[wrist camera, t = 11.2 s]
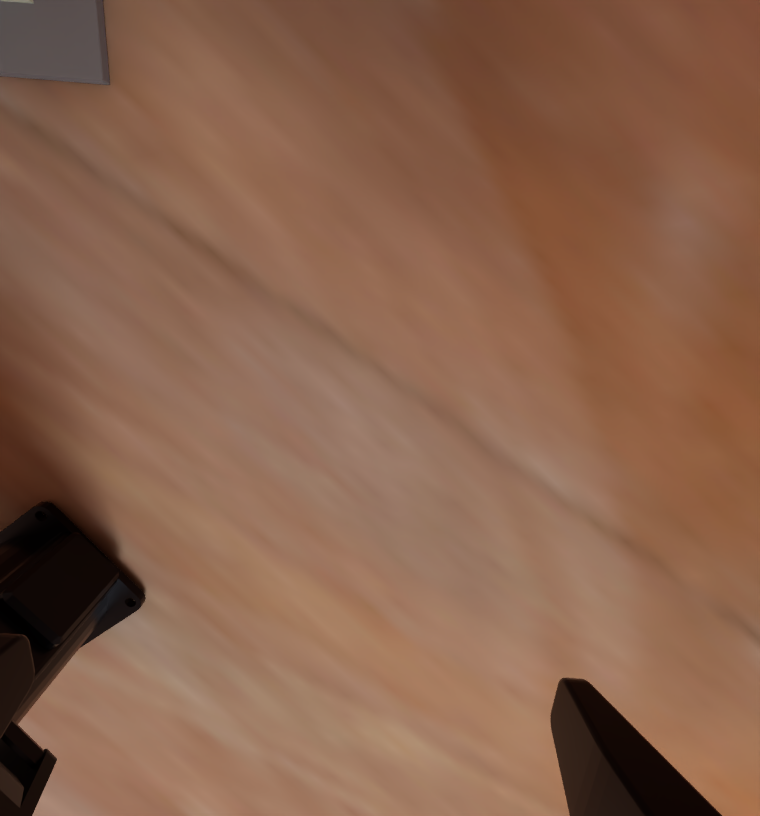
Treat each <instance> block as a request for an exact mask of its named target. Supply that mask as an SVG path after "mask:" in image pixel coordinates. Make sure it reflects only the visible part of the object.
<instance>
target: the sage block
mask: <svg viewBox="0 0 760 816" xmlns="http://www.w3.org/2000/svg"><path fill="white" fill-rule="evenodd" d="M0 1H7V2H20V3H32V4H34V2H33V0H0Z"/></svg>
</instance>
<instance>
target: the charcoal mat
mask: <svg viewBox="0 0 760 816" xmlns="http://www.w3.org/2000/svg"><path fill="white" fill-rule="evenodd" d="M33 2H34V4H32V3H20V2H7V1H0V76H7V77H19V78H31V79H43V80H55V81H68V82H80V83H92V84H104V85H110V79H109V68H108V56H107V44H106V32H105V20H104V9H103V0H33Z"/></svg>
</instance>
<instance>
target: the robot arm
mask: <svg viewBox="0 0 760 816" xmlns="http://www.w3.org/2000/svg"><path fill="white" fill-rule="evenodd" d="M42 512H44V513H45V514H46V515H47V516H45V515H44V514H43V513H42ZM131 598H132V599H134V600H135V601H133V600H132V599H131ZM144 602H145V594H144V593H143V592H142V591H141V590H140V589H139V588H138V587H137V586H136V585H135V584H134V583H133V582H132V581H131V580H130V579H129V578H128V577H127V576H126V575H125V574H124V573H123V572H122V571H121V570H120V569H119V568H118V567H117V566H116V565H115V564H114V563H113V562H112V561H111V560H110V559H109V558H108V557H107V556H106V555H105V554H104V553H103V552H102V551H101V550H100V549H99V548H98V547H97V546H96V545H95V544H94V543H93V542H92V541H91V540H89V539H88V538H87V537H86V536H85V535H84V534H83V533H82V532H81V531H80V530H79V529H78V528H77V527H76V526H75V525H74V524H73V523H72V522H71V521H70V520H69V519H68V518H67V517H66V516H65V515H64V514H63V513H62V512H61V511H60V510H59V509H58V508H57V507H56V506H55V505H53V504H52V503H50V502H41V503H39V504H37V505H36V506H34V507H33V508H32V509H30V510H29V511H28V512H26V513H25V514H24V515H22V516H21V517H20V518H18V519H17V520H16V521H14V522H13V523H12V524H11V525H9V526H8V527H7V528H5V529H4V530H3V531H1V532H0V816H32V814H33V812H34V810H35V808H36V805H37V803H38V801H39V799H40V797H41V794H42V792H43V790H44V788H45V785H46V783H47V781H48V779H49V776H50V774H51V772H52V770H53V767H54V765H55V763H56V761H57V758H56V757H55V756H54V755H53V754H52V753H51V752H50V751H49V750H48V749H44V750H43V749H42V748H41V747H40V746H39V745H38V744H37V743H36V742H35V741H34V740H33V739H32V738H31V737H30V736H29V735H28V734H27V733H26V732H25V731H24V730H23V729H22V728H21V727H20V726H19V725H18V723H19V722H20V721H21V720H22V718H23V717H24V716H25V715H26V713H27V712H28V711H29V710H30V708H31V707H32V706H33V705H34V704H35V702H36V701H37V700H38V699H39V697H40V696H41V695H42V694H43V692H44V691H45V690H46V689H47V687H48V686H49V685H50V684H51V682H52V681H53V680H54V679H55V678H56V676H57V675H58V674H59V673H60V671H61V670H62V669H63V668H64V666H65V665H66V664H67V663H68V661H69V660H70V659H71V658H72V656H73V655H74V654H75V653H76V652H77V650H78V649H79V648H80V647H82V646H83V645H85V644H87V643H88V642H90V641H91V640H93V639H94V638H96V637H97V636H99V635H100V634H102V633H103V632H105V631H106V630H108V629H109V628H111V627H113V626H114V625H116V624H117V623H119V622H120V621H122V620H123V619H125V618H126V617H128V616H129V615H131V614H132V613H134V612H135V611H137V610H138V609H139V608H140V607H141V606H142V604H143V603H144ZM551 729H552V734H553V739H554V744H555V748H556V753H557V758H558V762H559V767H560V772H561V776H562V781H563V786H564V790H565V795H566V800H567V804H568V809H569V814H570V816H722V815H721V814H720V813H719V812H718V811H717V810H716V809H715V808H714V807H713V806H712V805H711V804H710V803H709V802H708V801H707V800H706V799H705V798H704V797H703V796H702V795H701V794H700V793H699V792H698V791H697V790H696V789H695V788H694V787H693V786H692V785H691V784H690V783H689V782H688V781H687V780H686V779H685V778H684V777H683V776H682V775H681V774H680V773H679V772H678V771H677V770H676V769H675V768H674V767H673V766H672V765H671V764H670V763H669V762H668V761H667V760H666V759H665V758H664V757H663V756H662V755H661V754H660V753H659V752H658V751H657V750H656V749H655V748H654V747H653V746H652V745H651V744H650V743H649V742H648V741H647V740H646V739H645V738H644V737H643V736H642V735H641V734H640V733H639V732H638V731H637V730H636V729H635V728H634V727H633V726H632V725H631V724H630V723H629V722H628V721H627V720H626V719H625V718H624V717H623V716H622V715H621V714H620V713H619V712H618V711H617V710H616V709H615V708H614V707H613V706H612V705H611V704H610V703H609V702H608V701H607V700H606V699H605V698H604V697H603V696H602V695H601V694H600V693H599V692H598V691H597V690H596V689H595V688H594V687H593V686H592V685H591V684H590V683H589V682H588V681H586V680H584V679H576V678H562V679H561V680H560V681H559V683H558V687H557V691H556V695H555V699H554V703H553V707H552V711H551Z"/></svg>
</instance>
